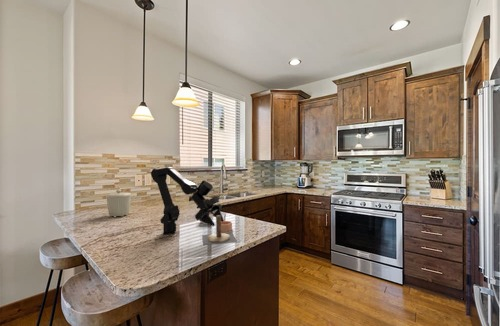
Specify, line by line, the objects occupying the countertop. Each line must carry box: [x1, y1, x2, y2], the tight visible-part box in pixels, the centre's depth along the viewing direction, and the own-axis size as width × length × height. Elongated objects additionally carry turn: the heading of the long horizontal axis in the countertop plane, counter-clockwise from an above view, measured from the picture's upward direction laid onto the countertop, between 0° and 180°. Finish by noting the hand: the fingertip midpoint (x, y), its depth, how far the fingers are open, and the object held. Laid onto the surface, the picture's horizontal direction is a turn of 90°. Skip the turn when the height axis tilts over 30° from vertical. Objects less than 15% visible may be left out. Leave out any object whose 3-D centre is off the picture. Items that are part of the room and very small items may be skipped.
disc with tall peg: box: [208, 214, 230, 242], centre depth 117 cm, size 12×12×12 cm
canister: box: [104, 189, 133, 217], centre depth 174 cm, size 18×18×21 cm
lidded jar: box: [199, 212, 215, 225], centre depth 150 cm, size 11×11×9 cm
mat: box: [201, 232, 238, 246], centre depth 117 cm, size 17×16×1 cm
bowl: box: [221, 220, 233, 233], centre depth 132 cm, size 8×8×4 cm
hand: (218, 223), depth 117 cm, fingers open, 9 cm apart
